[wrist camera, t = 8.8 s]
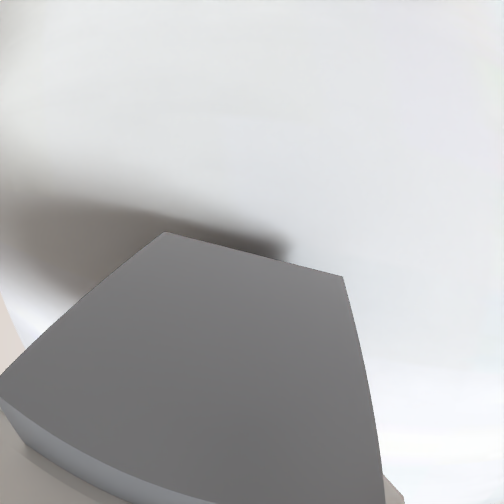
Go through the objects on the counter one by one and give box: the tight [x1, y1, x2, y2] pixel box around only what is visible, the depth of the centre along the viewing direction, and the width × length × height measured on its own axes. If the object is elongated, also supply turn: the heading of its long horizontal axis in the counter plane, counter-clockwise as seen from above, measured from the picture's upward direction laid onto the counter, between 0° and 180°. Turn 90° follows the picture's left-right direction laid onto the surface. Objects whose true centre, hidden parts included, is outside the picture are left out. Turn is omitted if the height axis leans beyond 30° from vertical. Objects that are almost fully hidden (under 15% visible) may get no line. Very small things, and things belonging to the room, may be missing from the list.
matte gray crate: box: [0, 231, 386, 504], centre depth 8 cm, size 7×7×9 cm
